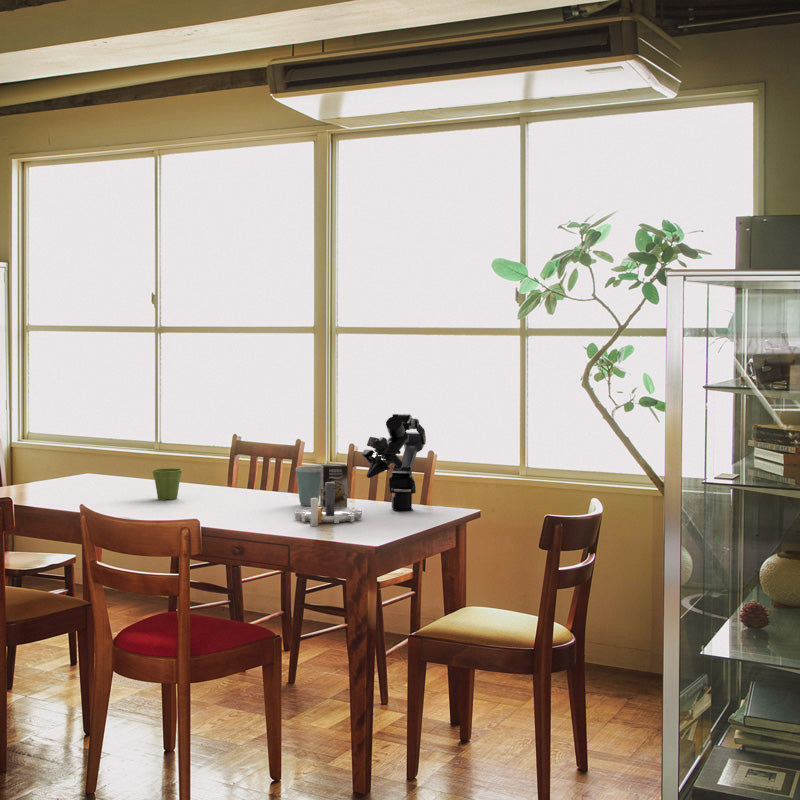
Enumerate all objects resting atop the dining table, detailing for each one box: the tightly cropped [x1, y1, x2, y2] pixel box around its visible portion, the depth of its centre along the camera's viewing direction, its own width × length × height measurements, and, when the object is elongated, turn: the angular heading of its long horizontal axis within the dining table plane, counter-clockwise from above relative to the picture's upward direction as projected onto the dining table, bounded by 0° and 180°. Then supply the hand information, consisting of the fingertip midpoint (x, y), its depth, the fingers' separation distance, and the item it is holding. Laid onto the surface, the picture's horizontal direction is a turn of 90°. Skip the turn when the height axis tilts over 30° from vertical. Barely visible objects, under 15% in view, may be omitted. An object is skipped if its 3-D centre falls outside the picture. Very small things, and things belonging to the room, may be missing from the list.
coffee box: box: [319, 463, 349, 508], centre depth 353 cm, size 9×6×16 cm
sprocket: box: [294, 482, 363, 524], centre depth 333 cm, size 23×23×13 cm
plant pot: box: [151, 467, 184, 501], centre depth 374 cm, size 12×12×11 cm
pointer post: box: [310, 498, 319, 527], centre depth 320 cm, size 2×2×9 cm
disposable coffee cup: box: [295, 464, 322, 506], centre depth 362 cm, size 11×11×15 cm
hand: (367, 477), depth 338 cm, fingers closed
